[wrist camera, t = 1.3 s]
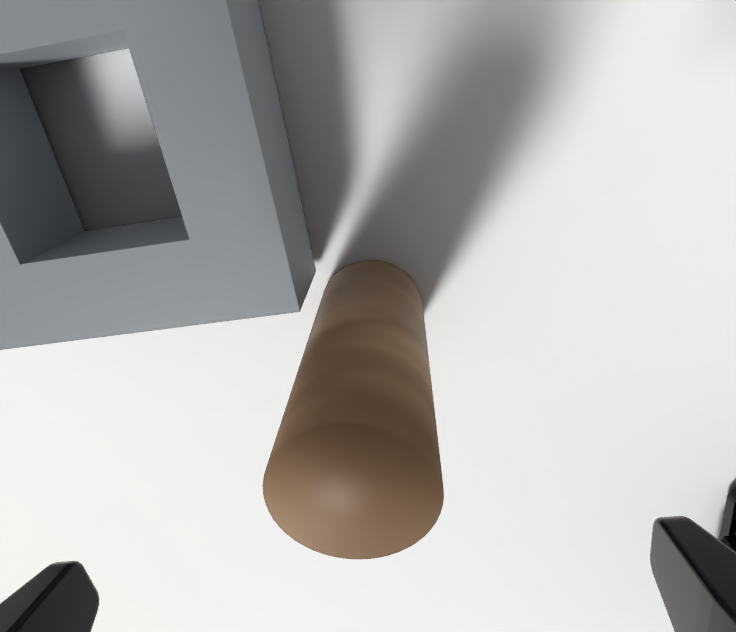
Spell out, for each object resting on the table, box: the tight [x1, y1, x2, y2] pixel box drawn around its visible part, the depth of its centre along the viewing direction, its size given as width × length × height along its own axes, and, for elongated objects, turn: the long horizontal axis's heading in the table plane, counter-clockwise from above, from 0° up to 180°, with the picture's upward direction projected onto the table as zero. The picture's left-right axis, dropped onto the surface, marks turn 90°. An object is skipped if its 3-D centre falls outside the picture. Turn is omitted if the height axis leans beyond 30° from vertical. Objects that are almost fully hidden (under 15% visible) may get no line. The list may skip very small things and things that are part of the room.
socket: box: [0, 0, 316, 350], centre depth 13 cm, size 9×9×3 cm
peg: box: [263, 260, 444, 559], centre depth 13 cm, size 3×3×8 cm
